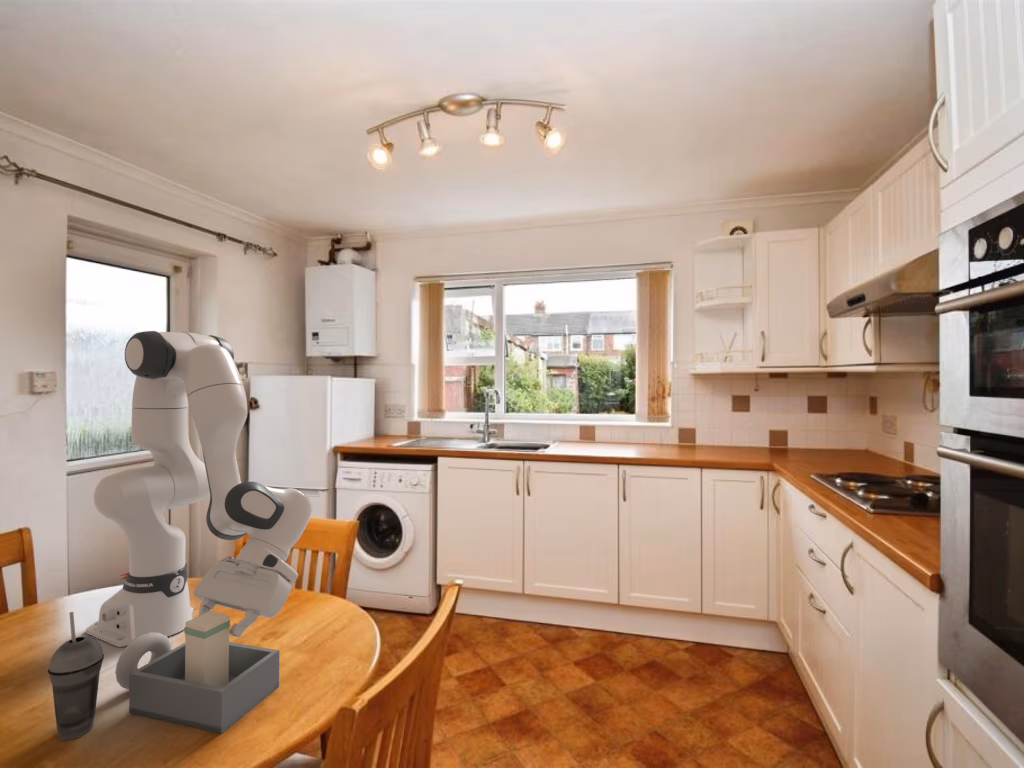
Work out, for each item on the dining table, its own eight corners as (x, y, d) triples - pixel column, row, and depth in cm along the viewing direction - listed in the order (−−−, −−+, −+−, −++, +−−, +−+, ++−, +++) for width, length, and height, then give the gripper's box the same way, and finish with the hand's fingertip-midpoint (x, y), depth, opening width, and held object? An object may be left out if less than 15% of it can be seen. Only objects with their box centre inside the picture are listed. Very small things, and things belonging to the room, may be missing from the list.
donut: (122, 703, 94) (123, 649, 94) (110, 699, 95) (111, 645, 95) (175, 674, 103) (176, 625, 103) (163, 670, 105) (164, 622, 105)
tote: (129, 712, 91) (129, 673, 91) (196, 670, 105) (196, 636, 105) (221, 733, 86) (221, 692, 86) (279, 686, 100) (279, 650, 100)
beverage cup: (70, 749, 82) (72, 625, 82) (34, 742, 84) (36, 620, 84) (114, 720, 89) (115, 605, 89) (80, 714, 91) (81, 601, 91)
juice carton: (183, 698, 94) (184, 622, 94) (209, 682, 99) (210, 610, 99) (203, 705, 92) (204, 627, 92) (229, 689, 97) (230, 615, 97)
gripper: (214, 548, 108) (167, 613, 99) (288, 562, 100) (244, 634, 91) (232, 562, 112) (189, 626, 103) (304, 577, 104) (265, 647, 95)
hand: (215, 630), depth 97 cm, fingers open, 8 cm apart
